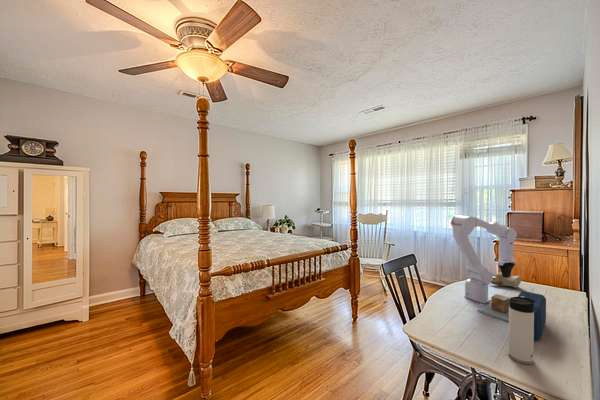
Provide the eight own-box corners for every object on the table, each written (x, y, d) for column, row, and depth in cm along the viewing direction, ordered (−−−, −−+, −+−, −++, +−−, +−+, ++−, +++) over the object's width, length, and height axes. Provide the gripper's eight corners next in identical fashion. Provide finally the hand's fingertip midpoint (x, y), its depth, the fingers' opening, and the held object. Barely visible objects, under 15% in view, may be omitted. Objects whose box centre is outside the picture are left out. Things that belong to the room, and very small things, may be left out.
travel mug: (539, 366, 82) (540, 303, 82) (515, 363, 84) (516, 301, 83) (526, 354, 88) (527, 295, 88) (504, 352, 90) (504, 294, 89)
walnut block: (491, 309, 119) (491, 296, 119) (496, 306, 122) (496, 294, 121) (504, 313, 115) (504, 300, 115) (509, 310, 117) (509, 297, 117)
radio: (518, 316, 115) (519, 270, 114) (546, 323, 108) (547, 275, 108) (509, 334, 101) (509, 282, 100) (540, 343, 94) (540, 288, 93)
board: (478, 311, 120) (478, 309, 120) (492, 304, 127) (492, 301, 127) (509, 322, 109) (509, 320, 109) (523, 313, 117) (523, 311, 117)
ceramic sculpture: (520, 275, 142) (487, 271, 152) (521, 291, 141) (488, 286, 151) (521, 270, 150) (489, 267, 160) (522, 286, 149) (490, 281, 159)
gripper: (509, 254, 127) (509, 281, 127) (521, 250, 134) (521, 276, 135) (492, 251, 133) (492, 278, 133) (505, 247, 140) (505, 272, 141)
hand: (506, 276), depth 134 cm, fingers closed
